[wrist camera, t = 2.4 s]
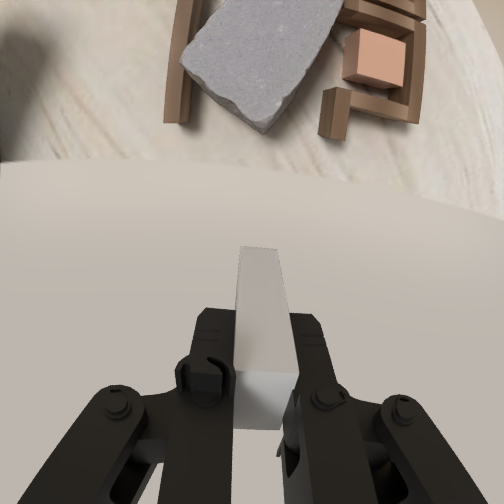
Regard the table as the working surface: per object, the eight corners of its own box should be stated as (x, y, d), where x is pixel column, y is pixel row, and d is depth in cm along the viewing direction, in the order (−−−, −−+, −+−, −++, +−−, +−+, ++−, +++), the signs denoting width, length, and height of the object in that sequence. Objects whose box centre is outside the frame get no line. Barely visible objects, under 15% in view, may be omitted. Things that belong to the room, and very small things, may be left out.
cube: (341, 78, 22) (357, 73, 18) (344, 39, 20) (360, 28, 16) (382, 88, 22) (402, 86, 18) (385, 50, 20) (405, 43, 16)
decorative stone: (188, 120, 23) (302, 142, 24) (165, 121, 17) (318, 150, 18) (224, -23, 17) (334, -2, 18) (215, -60, 11) (357, -32, 12)
